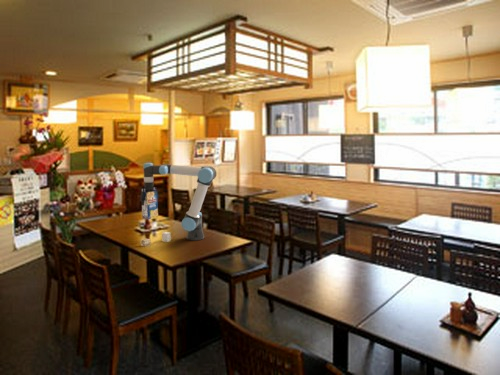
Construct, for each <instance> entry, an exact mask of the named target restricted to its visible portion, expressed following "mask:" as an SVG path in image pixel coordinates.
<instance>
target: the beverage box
mask: <svg viewBox="0 0 500 375" xmlns="http://www.w3.org/2000/svg"><path fill="white" fill-rule="evenodd" d="M157 193H158V190H157V191H154V190H153V191H151V192H145V191H144V196H143V197H145V210H144V209H143V206H142V205H141V215H142V216H141V217H142V218H141V219H144V220H152V219H156V218H159V208H158V200H157Z"/></svg>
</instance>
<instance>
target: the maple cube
mask: <svg viewBox="0 0 500 375" xmlns="http://www.w3.org/2000/svg"><path fill="white" fill-rule="evenodd" d="M140 246H141V247H144V248H145V247H146V248H147V247H149V246H151V239H149V238H142V239H140Z"/></svg>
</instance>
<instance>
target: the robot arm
mask: <svg viewBox="0 0 500 375" xmlns="http://www.w3.org/2000/svg"><path fill="white" fill-rule="evenodd" d="M142 169H143V170H142V171H143V187H144V188H141V189H140V196H139V202H141V207H142V206H143V209H144V210H145V197H143V196H144V192H151V191H157V201H158V200H159V199H160V196H159V193H158V190H157V186H156V187H155V185H154V184H155V183H154V176H155V175H157V176H158V175H159V176H163V175H165V176H167V174H169V175H179V176H191V177H197V179H196V182H197V186H196V189H195V192H194V195H193V198H192V200H191V204H190V207H189V209H188V211H186V212H185V216H184V218H183V219H181V220H182V221H181V227H182V229H183V230H185V231H186V232H187V233H186V240H187V241H188V240H189V241H200V240H204V239H205V234H204V230H203V214H202V212H200V211H201V209H202V205H203V203H204V201H205V197H206V195H207V192H208V188H209V187H211V186H212V184H213V180H215V178H216V177H217V169H215V167H213V166H200V167H197V166H187V165H178V164H177V165H173V164H167V163H166V164H159V165H155V164H154V163H152V162H145V163H143V168H142Z"/></svg>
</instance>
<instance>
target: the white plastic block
mask: <svg viewBox="0 0 500 375" xmlns="http://www.w3.org/2000/svg"><path fill="white" fill-rule="evenodd" d="M161 238H162V239H161V240H162V241H161V242H165V243H168V242H171V240H172V237H171V232H169V231H164V232H162V233H161Z"/></svg>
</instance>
